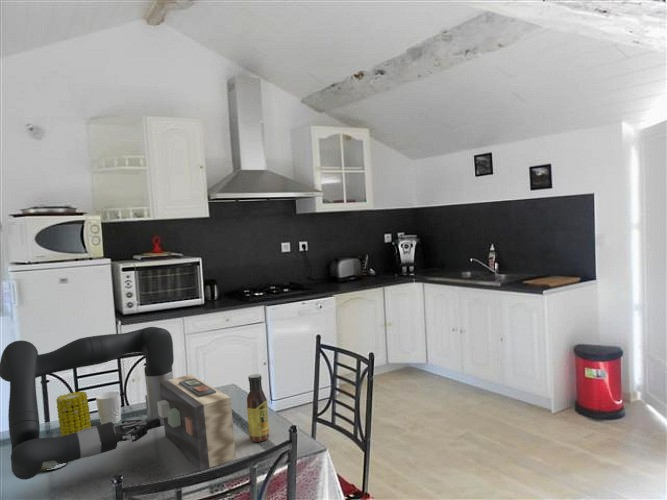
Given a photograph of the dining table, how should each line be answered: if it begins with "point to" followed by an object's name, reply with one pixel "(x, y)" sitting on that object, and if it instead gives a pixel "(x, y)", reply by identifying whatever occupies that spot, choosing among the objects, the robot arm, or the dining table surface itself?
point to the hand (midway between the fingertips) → (159, 421)
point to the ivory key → (163, 408)
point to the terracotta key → (189, 425)
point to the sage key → (174, 417)
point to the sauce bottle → (257, 410)
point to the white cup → (109, 407)
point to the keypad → (200, 421)
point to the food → (73, 412)
